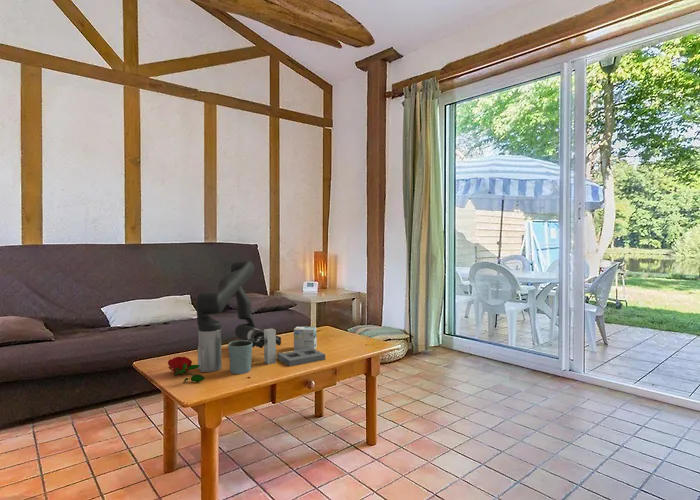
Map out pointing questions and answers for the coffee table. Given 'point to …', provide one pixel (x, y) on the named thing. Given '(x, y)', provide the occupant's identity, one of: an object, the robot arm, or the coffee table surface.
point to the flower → (184, 368)
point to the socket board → (300, 356)
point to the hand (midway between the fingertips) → (271, 344)
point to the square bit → (269, 346)
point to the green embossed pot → (240, 356)
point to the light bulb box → (305, 338)
